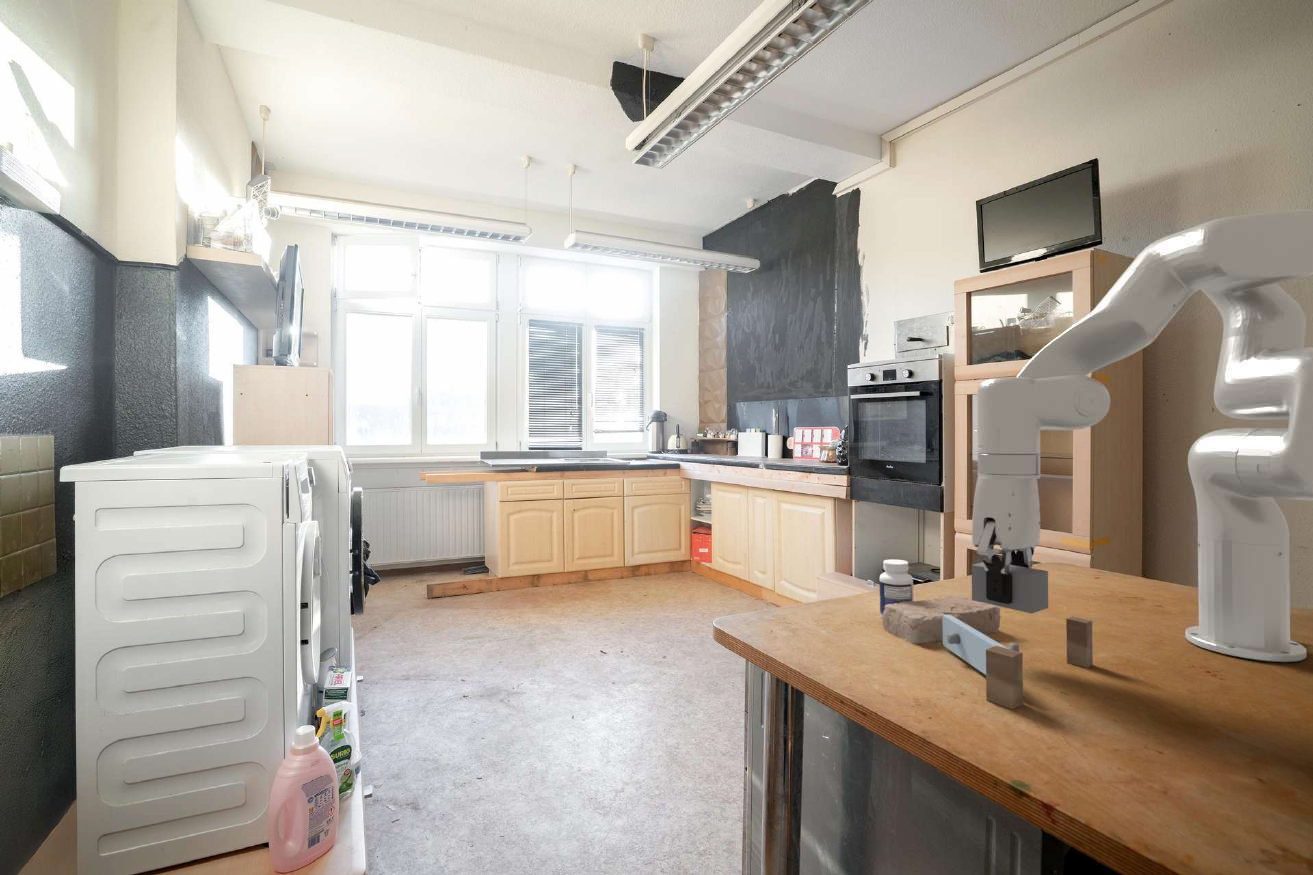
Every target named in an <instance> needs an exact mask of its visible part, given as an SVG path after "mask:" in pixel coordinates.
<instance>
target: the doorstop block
mask: <svg viewBox="0 0 1313 875" xmlns="http://www.w3.org/2000/svg"><path fill="white" fill-rule="evenodd" d="M1008 574H1012V603H1010V604H1005V603H1000V602H996V601H991V600H988V599H987V598H986V571H985V569H984V562H983V561H982V562H979V563H974V564H971V598H972V600H973V601H978V602H982V603H987V604H991V605H996V606H998V607H999V608H1005V609H1009V610H1014V611H1019V612H1024V613H1028V614H1034V613H1038V612H1041V611H1044V610H1046V609H1049V570H1044V569H1039V568H1033V567H1032V568H1027V567H1021V566H1015V565H1010V567H1009V573H1008Z"/></svg>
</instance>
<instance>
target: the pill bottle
mask: <svg viewBox="0 0 1313 875" xmlns="http://www.w3.org/2000/svg"><path fill="white" fill-rule="evenodd" d="M882 566H883V570H884V572H882V573H881V574H880V575H879V615H880V618H881V619H883V612H884V610H885V605H887V604H894V603H901V602H908V601H914V579H913V577H912V575H911V574H910V573H908V572H909V569H910V568H909V561H907V560H904V559H885V560H883V565H882Z"/></svg>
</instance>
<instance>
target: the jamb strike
mask: <svg viewBox="0 0 1313 875" xmlns="http://www.w3.org/2000/svg"><path fill="white" fill-rule="evenodd" d="M1065 622H1066V629H1065V630H1066V663H1068V664H1072V665H1075V666H1079V667H1083V668H1089V667H1091V666H1093V665H1094V664H1093V661H1094V660H1093V620H1092V619H1091V620H1090V619H1086V618H1081V617H1077V616H1069V617H1067V618H1065Z"/></svg>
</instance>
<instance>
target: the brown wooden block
mask: <svg viewBox="0 0 1313 875" xmlns="http://www.w3.org/2000/svg"><path fill="white" fill-rule="evenodd" d="M1007 648H1008V647H1006V648H1003V647H1000V646H994V647H991V648H989V649H986V675H985V678H986V679H985V680H986V681H985V683H986V684H985V686H986V687H985V690H986V695H985V696H986V701H989V702H991V703H994V704H996V705H1000V706H1002V707H1005V708H1008V709H1011V710H1015V709H1016V708H1018V707H1020V706H1022V705H1023V704H1024V675H1023V674H1024V673H1023V671H1024V668H1023V667H1024V665H1023V663H1024V662H1023V660H1024V659H1023V657H1024V656H1023V652H1022V651H1019V652H1018V651H1015V650H1011V649H1009V648H1008V649H1007Z"/></svg>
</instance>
